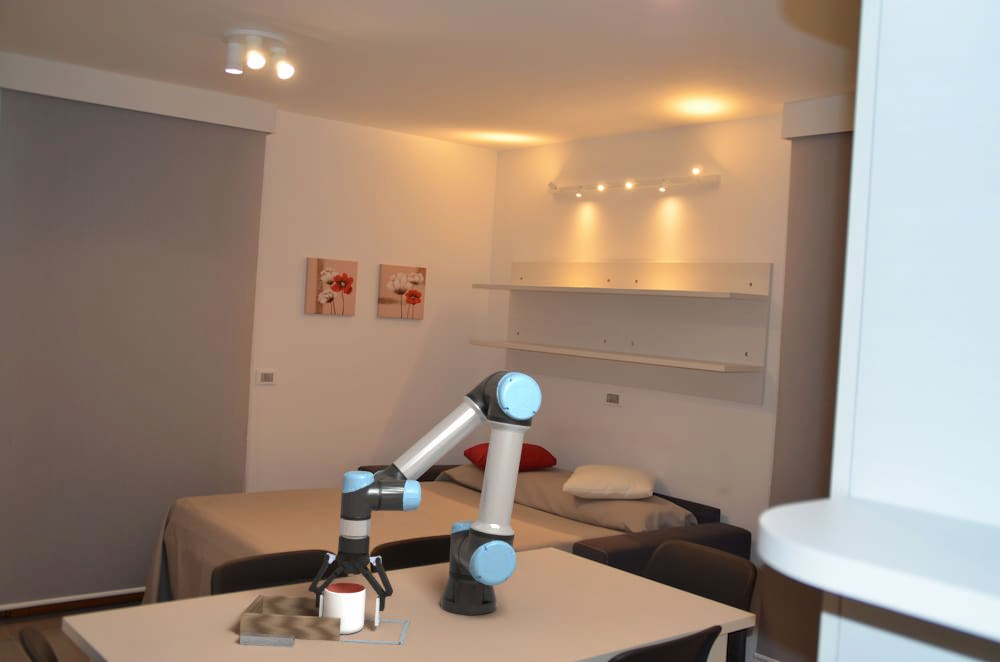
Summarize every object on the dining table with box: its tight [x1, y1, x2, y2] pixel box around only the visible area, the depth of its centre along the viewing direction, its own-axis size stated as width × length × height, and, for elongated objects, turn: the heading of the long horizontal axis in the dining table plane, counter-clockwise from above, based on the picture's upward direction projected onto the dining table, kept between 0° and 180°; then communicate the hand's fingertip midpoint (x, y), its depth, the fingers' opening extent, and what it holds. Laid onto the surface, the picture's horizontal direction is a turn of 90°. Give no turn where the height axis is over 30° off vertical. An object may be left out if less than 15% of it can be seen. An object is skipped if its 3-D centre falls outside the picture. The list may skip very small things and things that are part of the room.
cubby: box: [239, 594, 341, 642], centre depth 211 cm, size 23×16×5 cm
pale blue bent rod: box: [340, 618, 410, 646], centre depth 211 cm, size 14×17×1 cm
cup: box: [323, 582, 367, 635], centre depth 212 cm, size 10×10×10 cm
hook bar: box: [239, 630, 296, 648], centre depth 199 cm, size 12×4×2 cm, turn 90°
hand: (349, 622), depth 211 cm, fingers open, 13 cm apart
